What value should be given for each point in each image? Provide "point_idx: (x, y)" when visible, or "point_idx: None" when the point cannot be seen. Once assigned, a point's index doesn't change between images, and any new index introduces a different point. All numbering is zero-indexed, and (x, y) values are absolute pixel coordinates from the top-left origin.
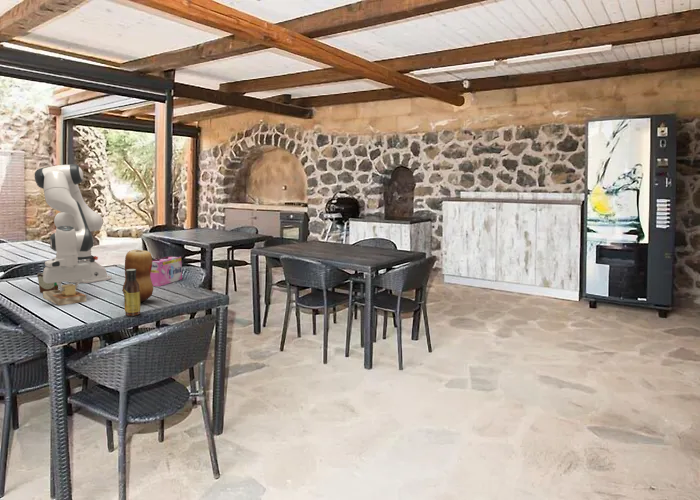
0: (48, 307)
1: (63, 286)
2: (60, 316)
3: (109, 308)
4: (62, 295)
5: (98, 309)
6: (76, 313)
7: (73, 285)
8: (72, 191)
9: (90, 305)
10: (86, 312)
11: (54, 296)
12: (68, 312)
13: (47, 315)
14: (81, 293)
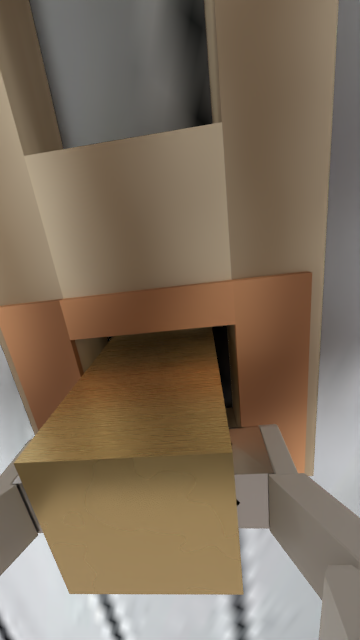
0: (14, 450)
1: (52, 518)
2: (71, 628)
3: (316, 631)
4: (101, 358)
5: (261, 621)
6: (145, 624)
7: (210, 592)
8: None
9: (262, 537)
10: (190, 632)
11: (18, 363)
12: (113, 596)
13: (16, 591)
14: (301, 409)
